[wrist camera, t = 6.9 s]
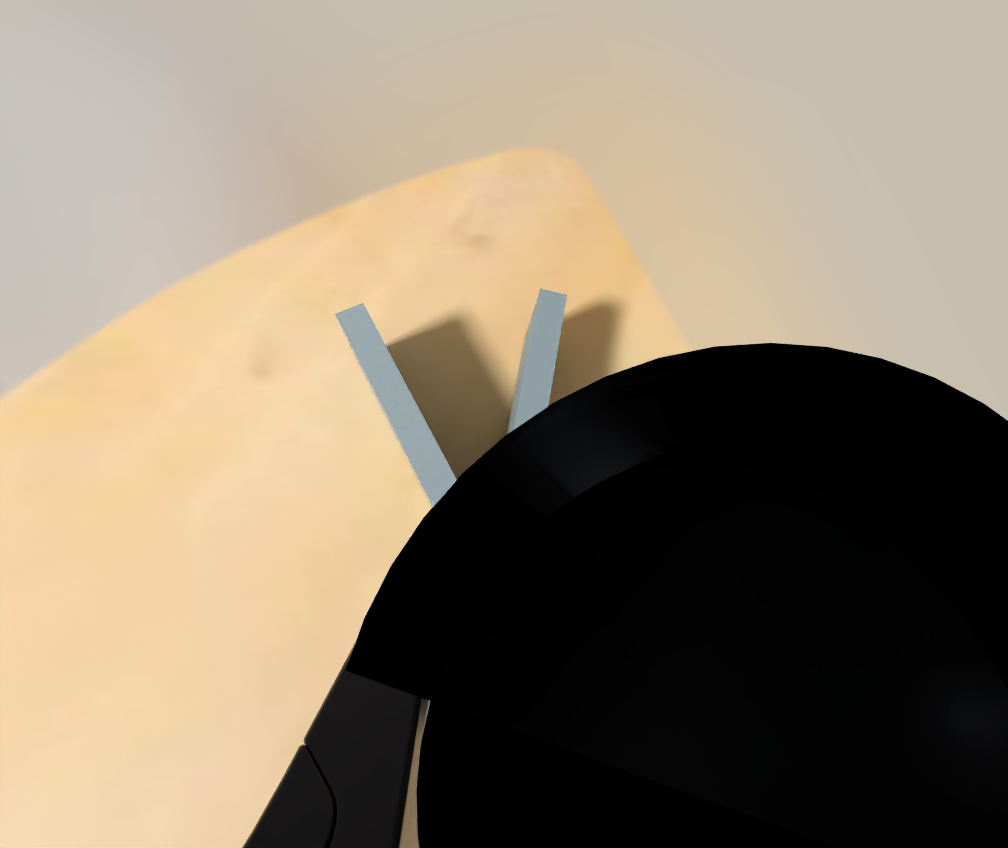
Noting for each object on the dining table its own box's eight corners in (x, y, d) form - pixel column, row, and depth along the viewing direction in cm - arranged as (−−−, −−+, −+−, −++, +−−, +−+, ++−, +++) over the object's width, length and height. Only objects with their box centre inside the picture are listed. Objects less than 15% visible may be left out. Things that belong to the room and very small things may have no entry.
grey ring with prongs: (613, 656, 16) (654, 680, 13) (382, 704, 15) (363, 745, 12) (546, 332, 20) (565, 286, 17) (355, 351, 19) (334, 305, 15)
